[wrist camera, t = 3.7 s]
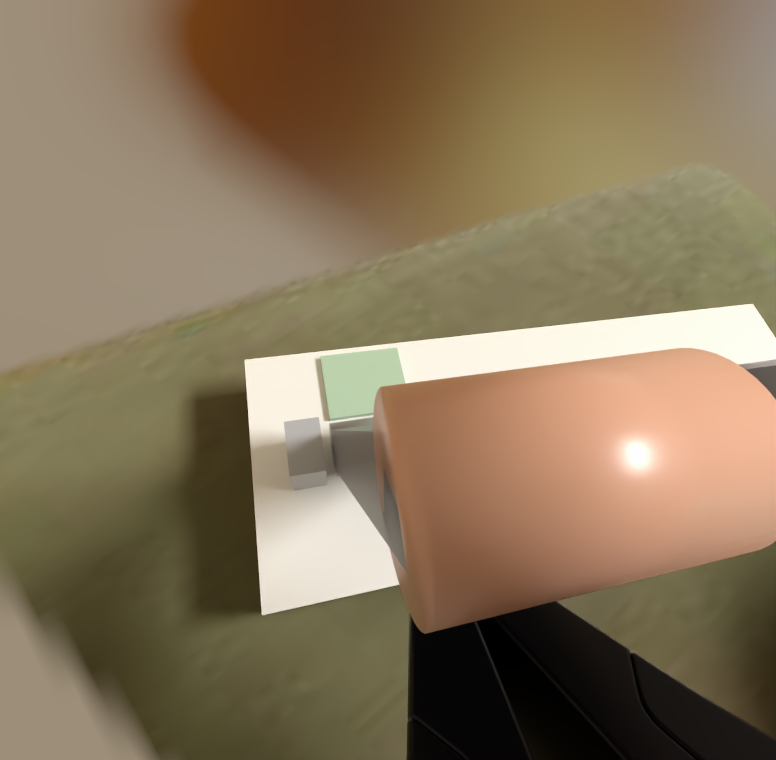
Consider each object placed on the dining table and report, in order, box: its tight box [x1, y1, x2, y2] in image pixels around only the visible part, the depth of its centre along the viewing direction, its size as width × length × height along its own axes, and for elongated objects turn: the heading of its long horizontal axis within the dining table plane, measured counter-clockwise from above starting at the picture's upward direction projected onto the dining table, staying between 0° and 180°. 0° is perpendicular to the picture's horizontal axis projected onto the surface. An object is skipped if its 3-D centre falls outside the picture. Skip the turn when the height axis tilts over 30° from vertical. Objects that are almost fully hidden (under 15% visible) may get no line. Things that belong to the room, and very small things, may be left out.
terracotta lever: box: [329, 348, 776, 634], centre depth 9 cm, size 2×3×11 cm, turn 101°
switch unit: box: [245, 304, 776, 615], centre depth 16 cm, size 8×22×4 cm, turn 102°
